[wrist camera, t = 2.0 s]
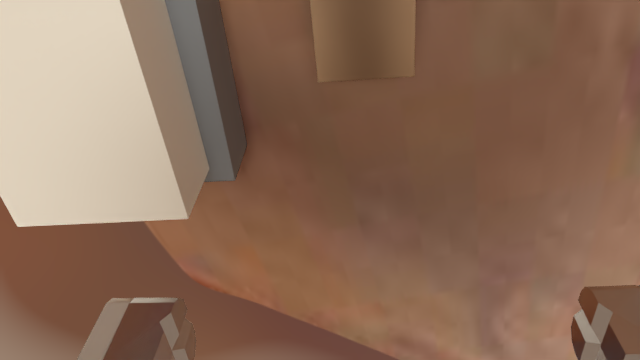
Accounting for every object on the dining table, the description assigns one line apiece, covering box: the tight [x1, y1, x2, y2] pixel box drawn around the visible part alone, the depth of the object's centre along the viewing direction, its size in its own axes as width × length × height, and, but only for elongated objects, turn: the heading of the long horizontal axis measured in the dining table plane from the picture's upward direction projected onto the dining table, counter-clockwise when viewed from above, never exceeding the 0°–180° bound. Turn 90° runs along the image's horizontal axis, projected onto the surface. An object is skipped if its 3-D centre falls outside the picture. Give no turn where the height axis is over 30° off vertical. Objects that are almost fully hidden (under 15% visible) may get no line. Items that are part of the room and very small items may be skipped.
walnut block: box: [310, 0, 416, 82], centre depth 28 cm, size 5×5×6 cm
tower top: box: [0, 0, 209, 227], centre depth 27 cm, size 10×13×5 cm
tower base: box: [165, 0, 247, 182], centre depth 31 cm, size 13×15×5 cm
